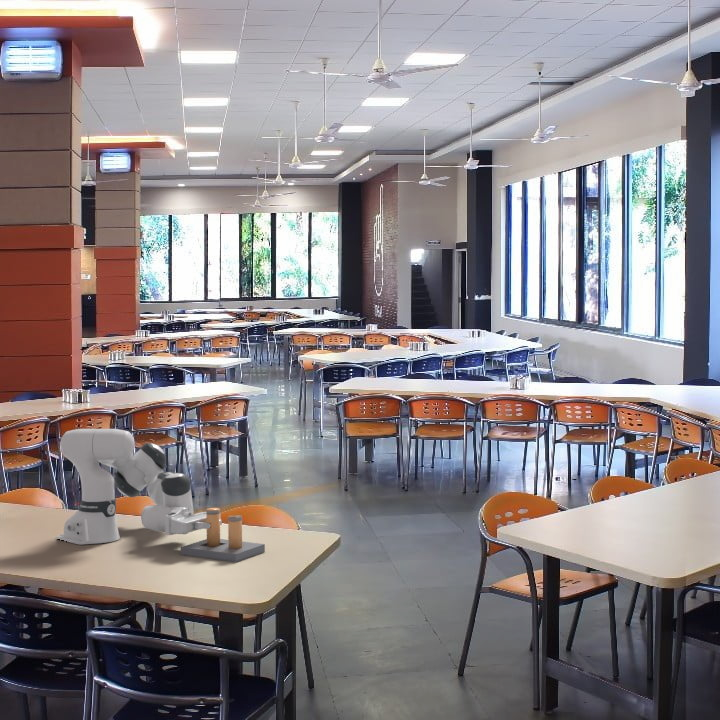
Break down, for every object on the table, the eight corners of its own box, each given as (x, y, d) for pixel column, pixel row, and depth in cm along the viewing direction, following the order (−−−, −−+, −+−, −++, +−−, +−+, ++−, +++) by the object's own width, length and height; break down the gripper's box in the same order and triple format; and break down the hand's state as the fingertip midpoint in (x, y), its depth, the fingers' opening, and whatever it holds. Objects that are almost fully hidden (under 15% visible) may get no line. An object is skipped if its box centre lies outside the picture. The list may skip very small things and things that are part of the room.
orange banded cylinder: (204, 546, 326) (204, 510, 325) (209, 543, 330) (209, 507, 330) (217, 547, 325) (217, 510, 324) (222, 544, 329) (222, 508, 329)
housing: (180, 554, 324) (180, 516, 323) (210, 545, 338) (210, 508, 337) (236, 561, 313) (235, 522, 313) (264, 551, 327) (264, 513, 327)
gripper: (201, 524, 343) (234, 528, 336) (162, 535, 325) (196, 539, 318) (200, 506, 343) (233, 509, 336) (162, 516, 325) (196, 520, 318)
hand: (215, 524), depth 327 cm, fingers closed on orange banded cylinder, 4 cm apart
